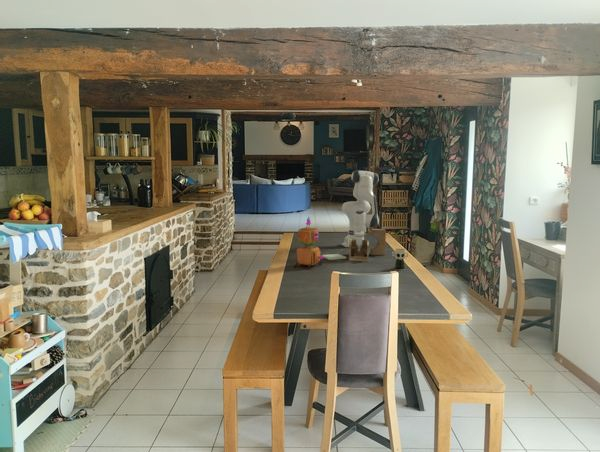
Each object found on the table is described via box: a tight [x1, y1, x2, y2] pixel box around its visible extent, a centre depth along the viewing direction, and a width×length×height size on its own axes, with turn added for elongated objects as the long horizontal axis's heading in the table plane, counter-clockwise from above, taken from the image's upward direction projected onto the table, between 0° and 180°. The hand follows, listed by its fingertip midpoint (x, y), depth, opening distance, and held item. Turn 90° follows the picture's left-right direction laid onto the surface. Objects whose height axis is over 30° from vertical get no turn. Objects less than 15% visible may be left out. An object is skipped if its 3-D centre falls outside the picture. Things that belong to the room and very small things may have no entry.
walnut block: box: [356, 245, 362, 256], centre depth 376 cm, size 4×4×9 cm
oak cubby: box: [348, 239, 370, 262], centre depth 377 cm, size 26×14×12 cm, turn 172°
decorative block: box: [369, 228, 387, 256], centre depth 389 cm, size 11×6×20 cm, turn 89°
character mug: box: [391, 248, 409, 269], centre depth 341 cm, size 11×7×13 cm, turn 84°
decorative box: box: [293, 216, 324, 270], centre depth 343 cm, size 19×21×35 cm
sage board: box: [321, 253, 347, 261], centre depth 377 cm, size 14×14×1 cm
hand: (359, 250), depth 377 cm, fingers closed on walnut block, 4 cm apart
